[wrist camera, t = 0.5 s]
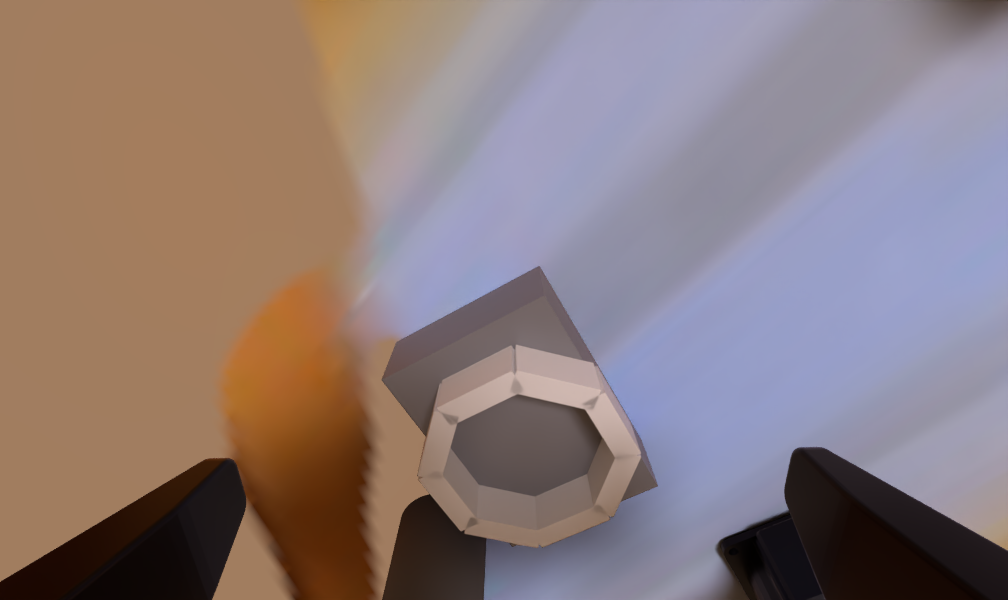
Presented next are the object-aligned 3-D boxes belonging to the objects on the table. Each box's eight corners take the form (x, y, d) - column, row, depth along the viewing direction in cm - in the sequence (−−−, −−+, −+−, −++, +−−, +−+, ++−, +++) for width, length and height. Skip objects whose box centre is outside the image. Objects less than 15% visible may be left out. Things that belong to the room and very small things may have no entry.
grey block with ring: (648, 436, 25) (678, 516, 21) (505, 499, 27) (505, 585, 22) (547, 261, 22) (557, 312, 17) (389, 345, 23) (362, 412, 19)
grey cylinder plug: (502, 537, 28) (501, 680, 21) (431, 568, 29) (409, 713, 22) (457, 480, 26) (441, 615, 20) (383, 514, 27) (345, 653, 21)
